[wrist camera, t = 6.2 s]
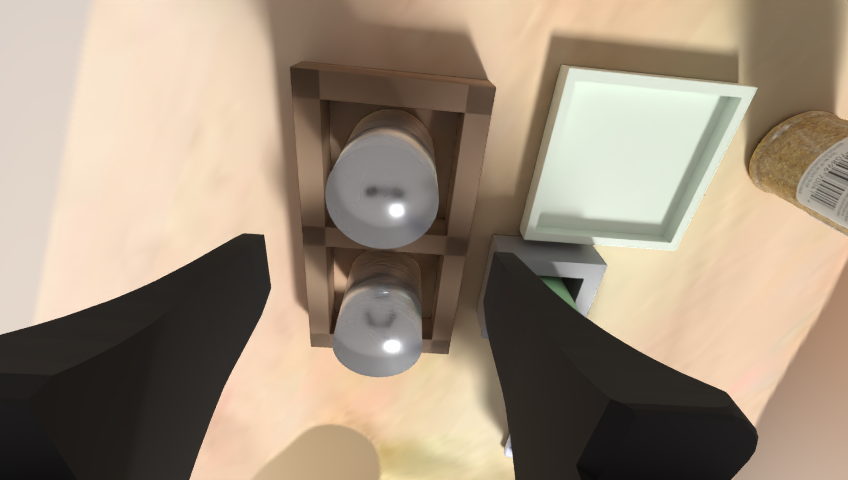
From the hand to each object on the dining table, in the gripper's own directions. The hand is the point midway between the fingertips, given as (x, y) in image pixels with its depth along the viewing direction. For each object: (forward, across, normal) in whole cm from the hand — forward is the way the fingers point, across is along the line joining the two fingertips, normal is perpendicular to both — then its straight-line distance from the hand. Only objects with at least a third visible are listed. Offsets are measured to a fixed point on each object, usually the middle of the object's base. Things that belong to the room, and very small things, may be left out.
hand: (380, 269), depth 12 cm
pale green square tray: (+10, -12, -1) cm, 16 cm away
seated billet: (+10, 0, +8) cm, 12 cm away
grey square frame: (+10, -9, +7) cm, 15 cm away
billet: (+10, 0, -1) cm, 10 cm away
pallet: (+10, 0, +4) cm, 11 cm away
